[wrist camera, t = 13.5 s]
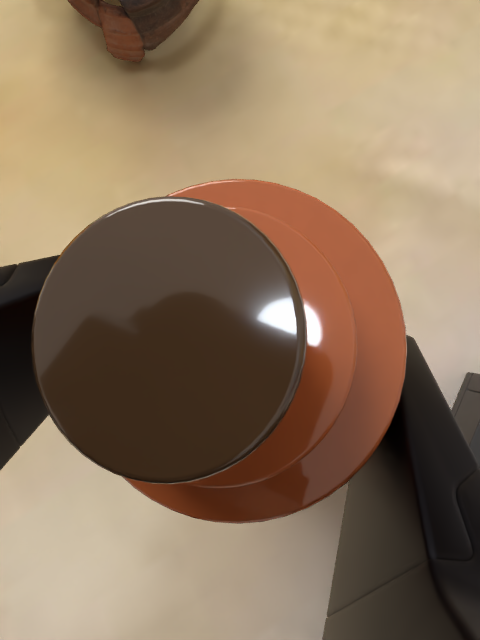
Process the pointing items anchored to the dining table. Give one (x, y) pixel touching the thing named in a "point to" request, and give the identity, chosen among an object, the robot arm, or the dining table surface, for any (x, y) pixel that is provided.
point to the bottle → (222, 349)
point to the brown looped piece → (135, 23)
